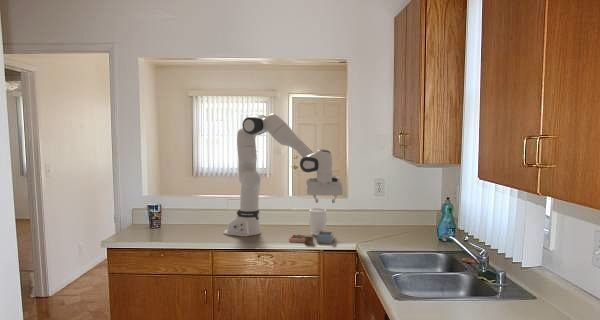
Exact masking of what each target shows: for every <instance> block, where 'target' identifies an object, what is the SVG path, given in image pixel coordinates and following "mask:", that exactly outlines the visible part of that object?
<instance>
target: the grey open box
mask: <svg viewBox="0 0 600 320" xmlns="http://www.w3.org/2000/svg"><path fill="white" fill-rule="evenodd" d="M333 242H334V231H324V232H323V231H319V232H318V234H317V235H316V243H317V244H332V243H333Z"/></svg>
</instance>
